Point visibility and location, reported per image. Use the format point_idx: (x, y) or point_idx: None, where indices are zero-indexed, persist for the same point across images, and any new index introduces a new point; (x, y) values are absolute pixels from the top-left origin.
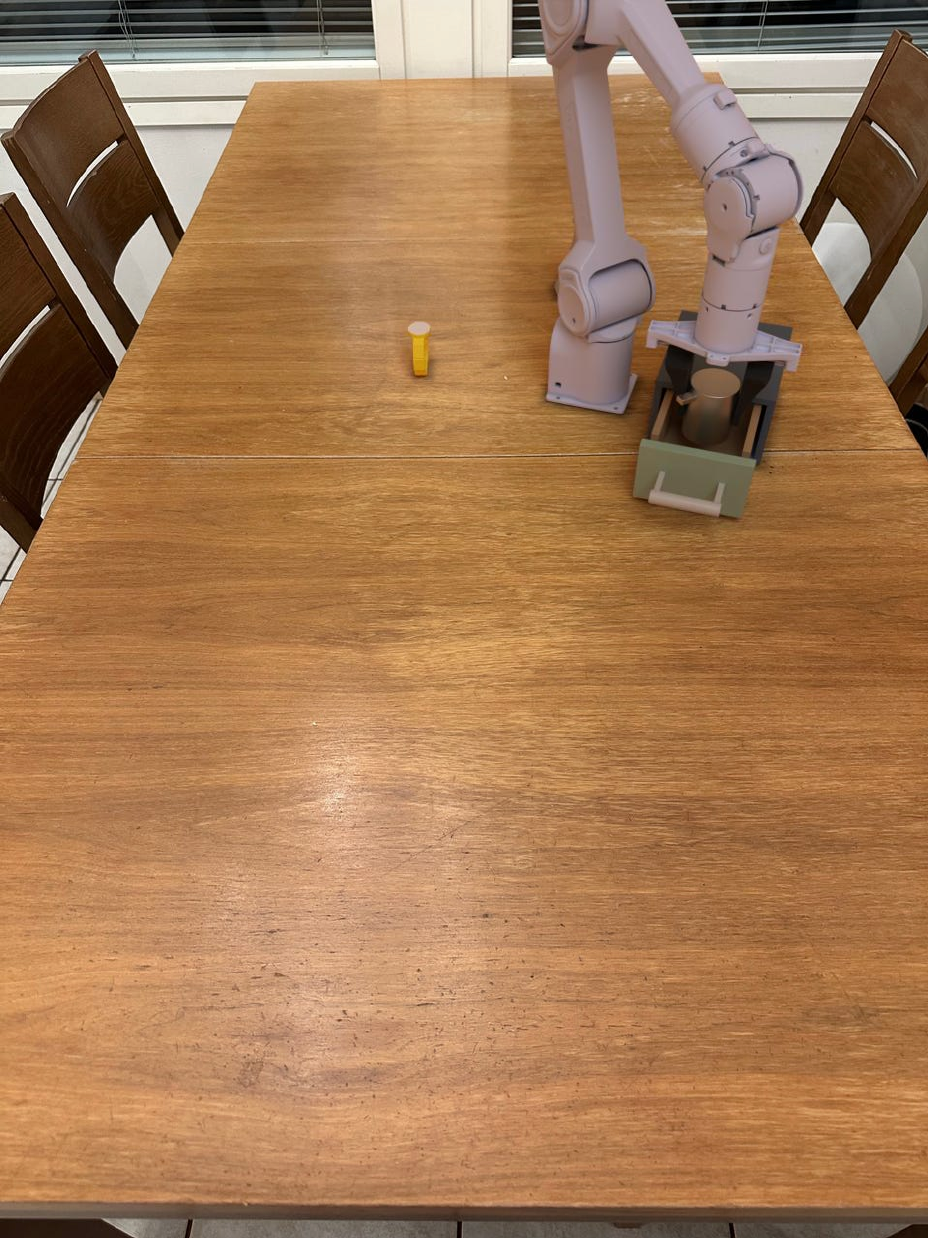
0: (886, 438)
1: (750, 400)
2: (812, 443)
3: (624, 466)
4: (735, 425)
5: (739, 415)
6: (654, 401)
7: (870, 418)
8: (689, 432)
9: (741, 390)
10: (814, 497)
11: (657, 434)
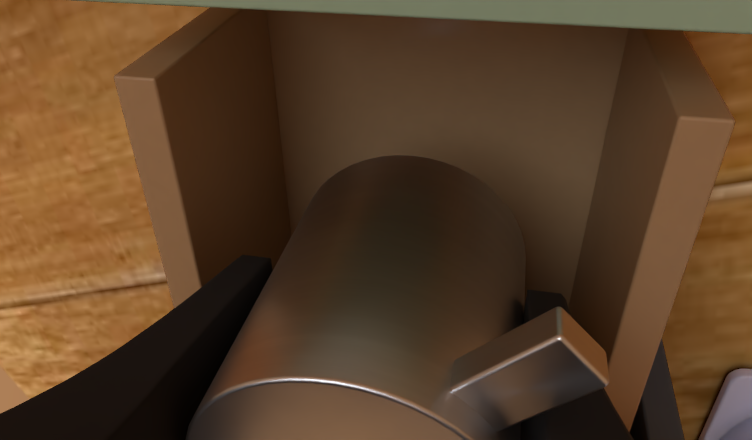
0: (11, 342)
1: (89, 369)
2: (151, 310)
3: (739, 114)
4: (246, 256)
5: (202, 293)
6: (666, 395)
7: None
8: (480, 206)
9: (106, 435)
10: (58, 96)
11: (690, 119)
